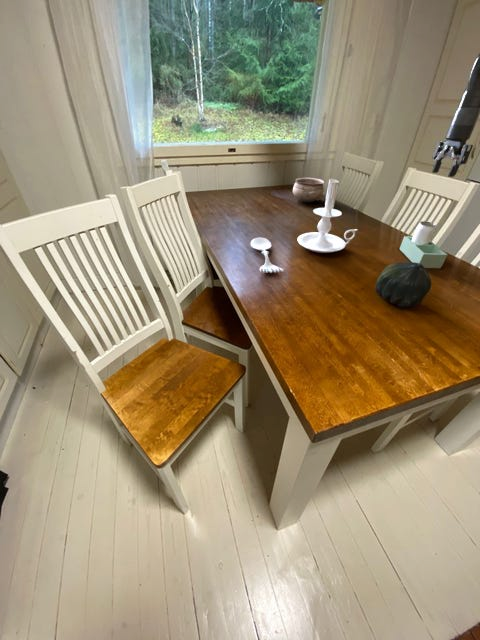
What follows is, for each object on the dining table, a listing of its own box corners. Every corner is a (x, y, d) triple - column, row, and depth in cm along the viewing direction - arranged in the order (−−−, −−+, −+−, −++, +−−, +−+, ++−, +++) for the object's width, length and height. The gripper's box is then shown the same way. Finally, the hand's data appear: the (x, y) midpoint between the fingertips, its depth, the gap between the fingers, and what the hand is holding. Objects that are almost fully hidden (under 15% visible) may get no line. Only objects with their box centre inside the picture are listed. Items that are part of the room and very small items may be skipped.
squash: (382, 266, 96) (391, 247, 82) (429, 279, 91) (447, 261, 77) (367, 303, 95) (373, 289, 81) (413, 318, 90) (429, 306, 76)
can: (423, 256, 113) (436, 227, 106) (406, 252, 116) (418, 224, 108) (424, 250, 118) (437, 223, 110) (408, 247, 120) (419, 219, 113)
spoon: (259, 278, 99) (259, 270, 97) (249, 242, 124) (249, 235, 122) (283, 278, 100) (284, 269, 98) (268, 242, 125) (269, 235, 123)
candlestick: (360, 258, 113) (383, 185, 95) (300, 258, 113) (313, 184, 95) (344, 239, 129) (362, 173, 111) (292, 238, 129) (302, 172, 111)
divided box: (420, 249, 121) (425, 236, 117) (440, 268, 107) (447, 254, 104) (399, 248, 121) (404, 236, 117) (417, 267, 108) (423, 254, 104)
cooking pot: (287, 196, 185) (290, 176, 177) (315, 196, 186) (318, 176, 178) (296, 207, 165) (299, 185, 158) (326, 207, 167) (331, 185, 159)
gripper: (490, 124, 91) (465, 177, 101) (457, 122, 102) (438, 170, 112) (470, 124, 90) (447, 178, 100) (438, 122, 101) (421, 171, 111)
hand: (442, 174), depth 106 cm, fingers open, 8 cm apart
